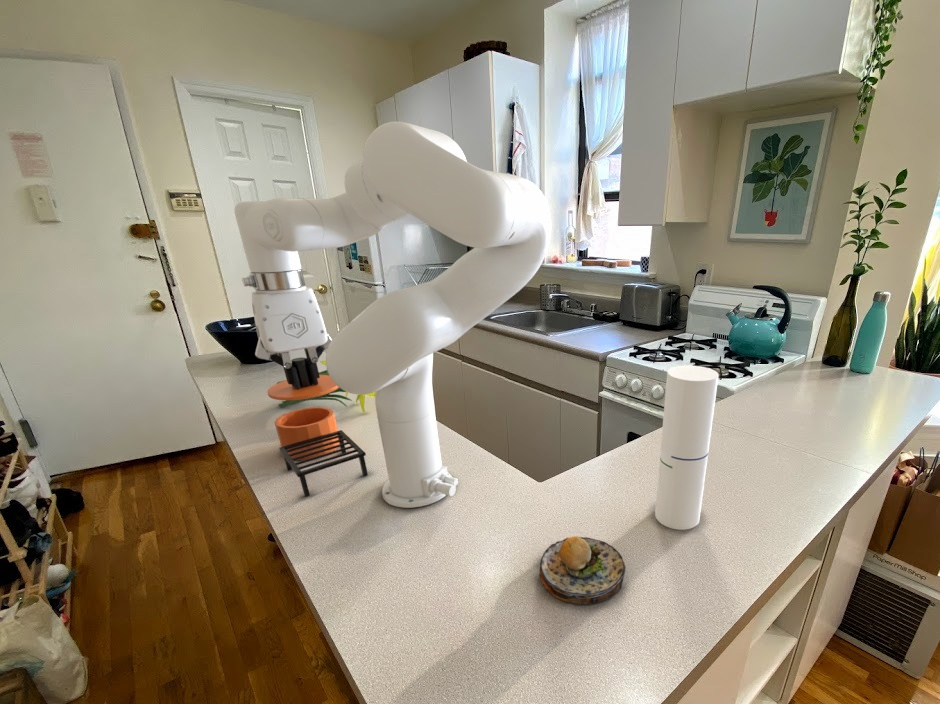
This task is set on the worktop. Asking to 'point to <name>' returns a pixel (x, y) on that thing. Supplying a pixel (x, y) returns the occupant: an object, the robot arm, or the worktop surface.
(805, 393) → the worktop surface
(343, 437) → the rack
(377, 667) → the worktop surface
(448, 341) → the robot arm
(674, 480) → the cylindrical container
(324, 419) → the pot
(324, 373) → the daffodil flowers
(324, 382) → the lid
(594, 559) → the burger
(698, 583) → the worktop surface
